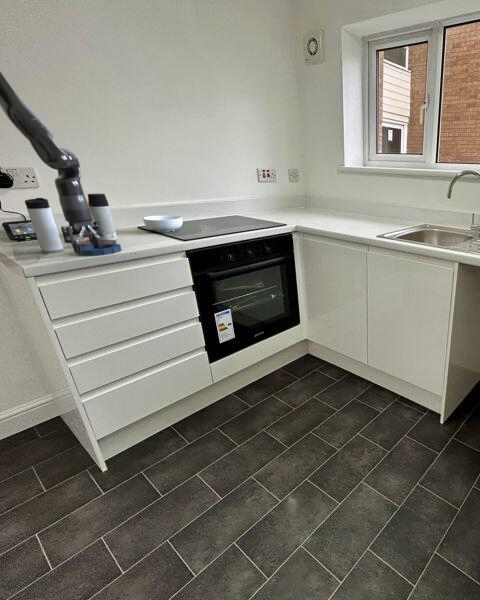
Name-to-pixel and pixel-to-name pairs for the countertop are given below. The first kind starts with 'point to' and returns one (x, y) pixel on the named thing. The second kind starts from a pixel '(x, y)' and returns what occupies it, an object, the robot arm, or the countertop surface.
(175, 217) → the cereal bowl
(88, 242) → the post
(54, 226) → the travel mug
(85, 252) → the ring
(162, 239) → the countertop surface
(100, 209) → the spray can
